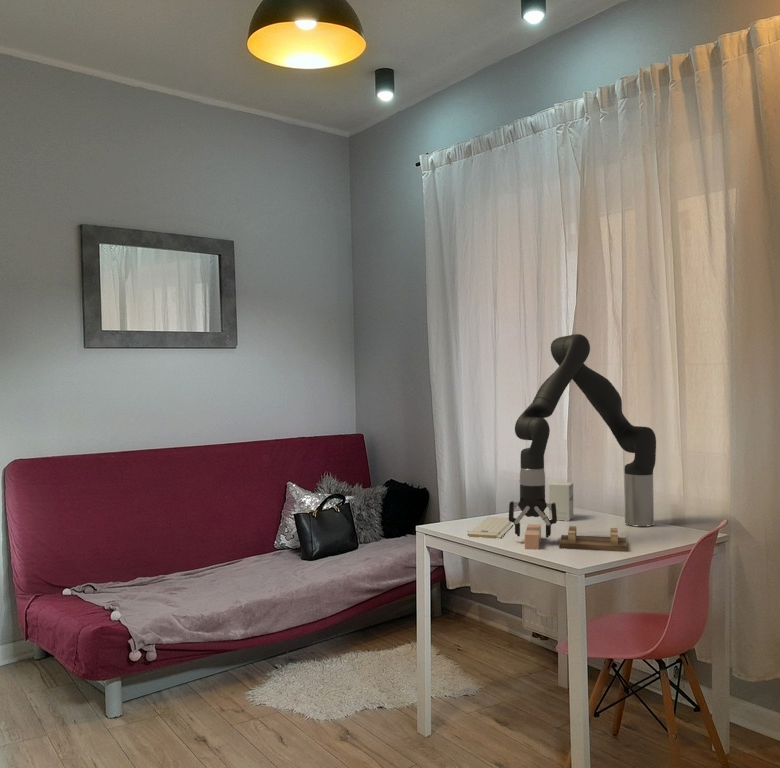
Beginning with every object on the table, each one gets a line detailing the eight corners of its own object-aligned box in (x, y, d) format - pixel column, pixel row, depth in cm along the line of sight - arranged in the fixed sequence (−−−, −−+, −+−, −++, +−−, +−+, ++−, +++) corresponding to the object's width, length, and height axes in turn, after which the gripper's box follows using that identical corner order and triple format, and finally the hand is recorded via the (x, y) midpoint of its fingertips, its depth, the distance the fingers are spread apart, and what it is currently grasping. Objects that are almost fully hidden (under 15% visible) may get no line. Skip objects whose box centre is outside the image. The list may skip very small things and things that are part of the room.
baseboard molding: (521, 522, 262) (488, 521, 266) (521, 514, 262) (488, 513, 266) (505, 540, 233) (467, 538, 237) (504, 531, 233) (467, 529, 237)
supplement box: (569, 521, 260) (569, 485, 260) (548, 520, 263) (548, 484, 263) (574, 518, 267) (573, 482, 267) (553, 516, 270) (553, 481, 270)
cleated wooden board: (561, 539, 231) (561, 525, 231) (626, 542, 226) (625, 527, 226) (559, 548, 219) (559, 532, 219) (627, 551, 214) (627, 535, 214)
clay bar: (528, 538, 235) (528, 524, 235) (541, 539, 234) (541, 524, 234) (524, 549, 219) (524, 534, 219) (538, 550, 218) (538, 535, 218)
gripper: (557, 482, 228) (557, 535, 228) (510, 480, 232) (510, 533, 232) (555, 485, 221) (556, 540, 221) (507, 484, 225) (507, 538, 225)
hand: (532, 536), depth 226 cm, fingers open, 8 cm apart
